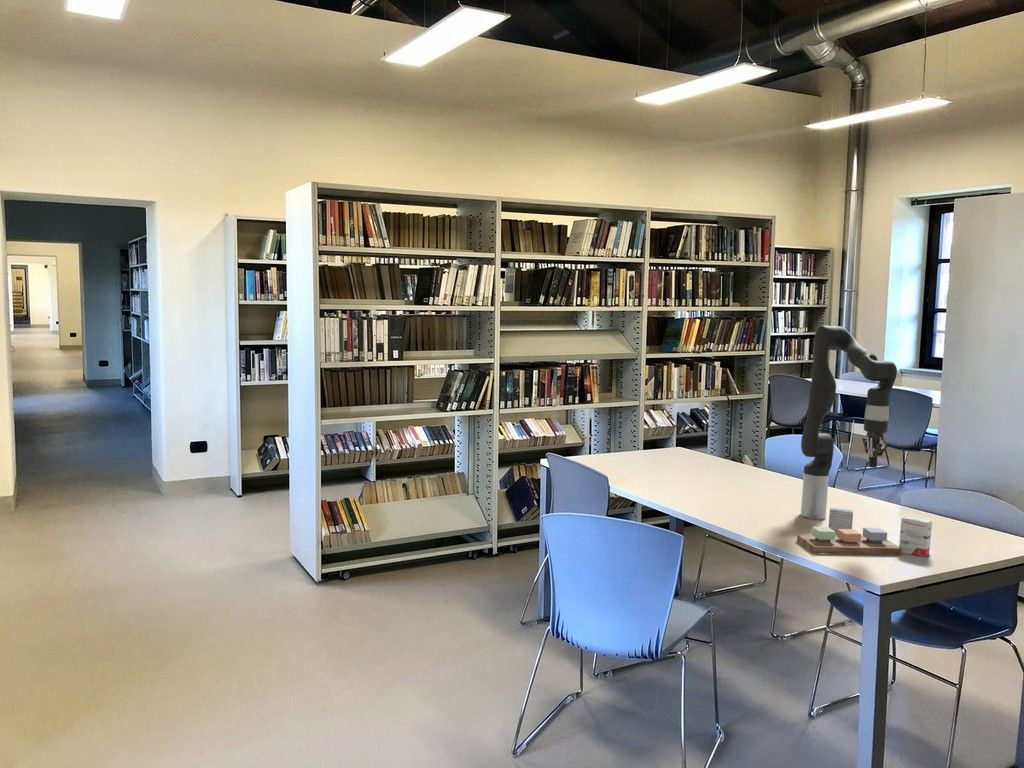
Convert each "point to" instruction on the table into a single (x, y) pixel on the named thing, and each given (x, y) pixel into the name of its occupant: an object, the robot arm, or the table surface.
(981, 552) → the table surface
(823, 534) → the sage button
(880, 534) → the slate button
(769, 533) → the table surface
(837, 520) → the medicine box
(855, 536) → the terracotta button
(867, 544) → the button board
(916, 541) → the ink box
